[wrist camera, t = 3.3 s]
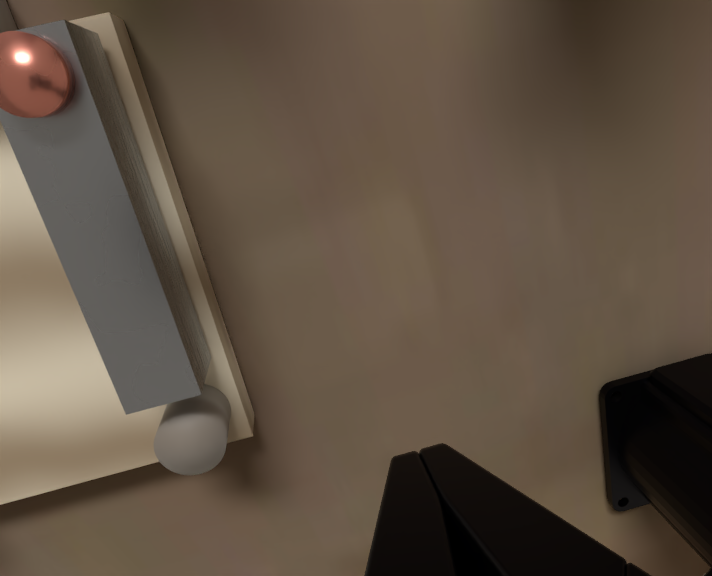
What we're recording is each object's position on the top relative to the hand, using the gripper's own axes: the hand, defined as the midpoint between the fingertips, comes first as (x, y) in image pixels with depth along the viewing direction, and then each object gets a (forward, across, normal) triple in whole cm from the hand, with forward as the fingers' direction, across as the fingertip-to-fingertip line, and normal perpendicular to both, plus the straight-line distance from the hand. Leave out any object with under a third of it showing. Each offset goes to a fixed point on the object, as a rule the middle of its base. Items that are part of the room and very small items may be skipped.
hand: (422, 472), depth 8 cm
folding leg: (+10, +6, -3) cm, 12 cm away
